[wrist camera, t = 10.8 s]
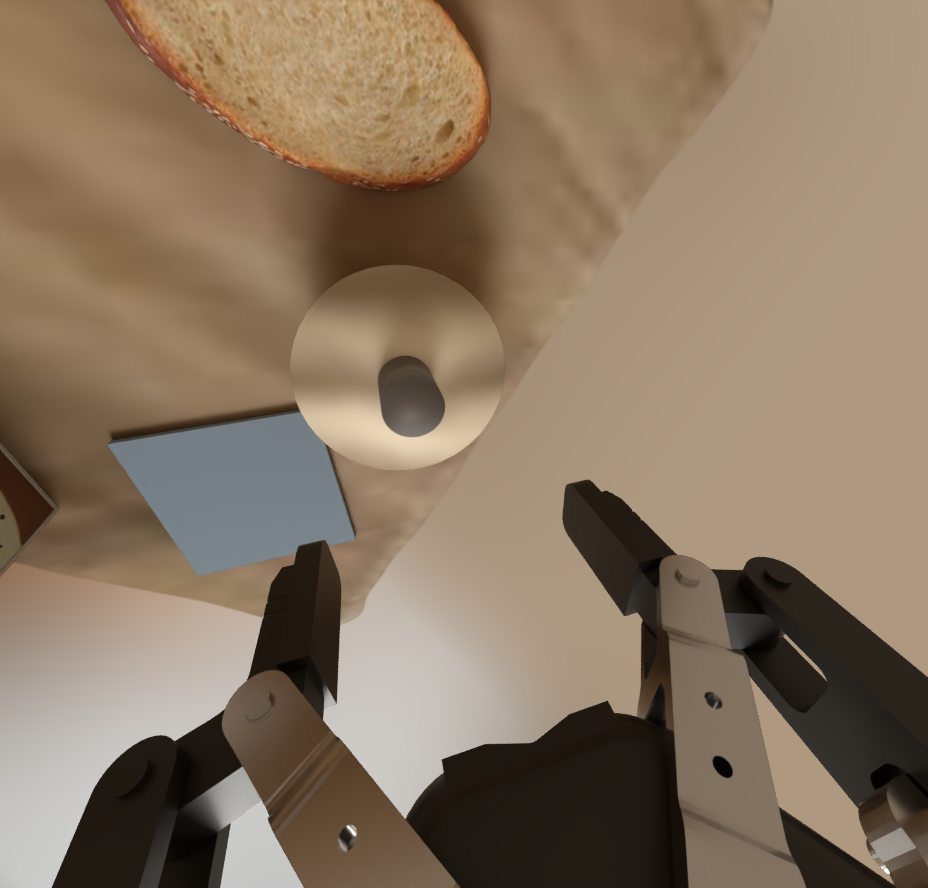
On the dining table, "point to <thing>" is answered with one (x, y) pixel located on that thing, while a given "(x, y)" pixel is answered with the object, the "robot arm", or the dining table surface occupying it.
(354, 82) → the bread slice
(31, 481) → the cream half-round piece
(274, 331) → the dining table surface
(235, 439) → the mat
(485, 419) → the lid
